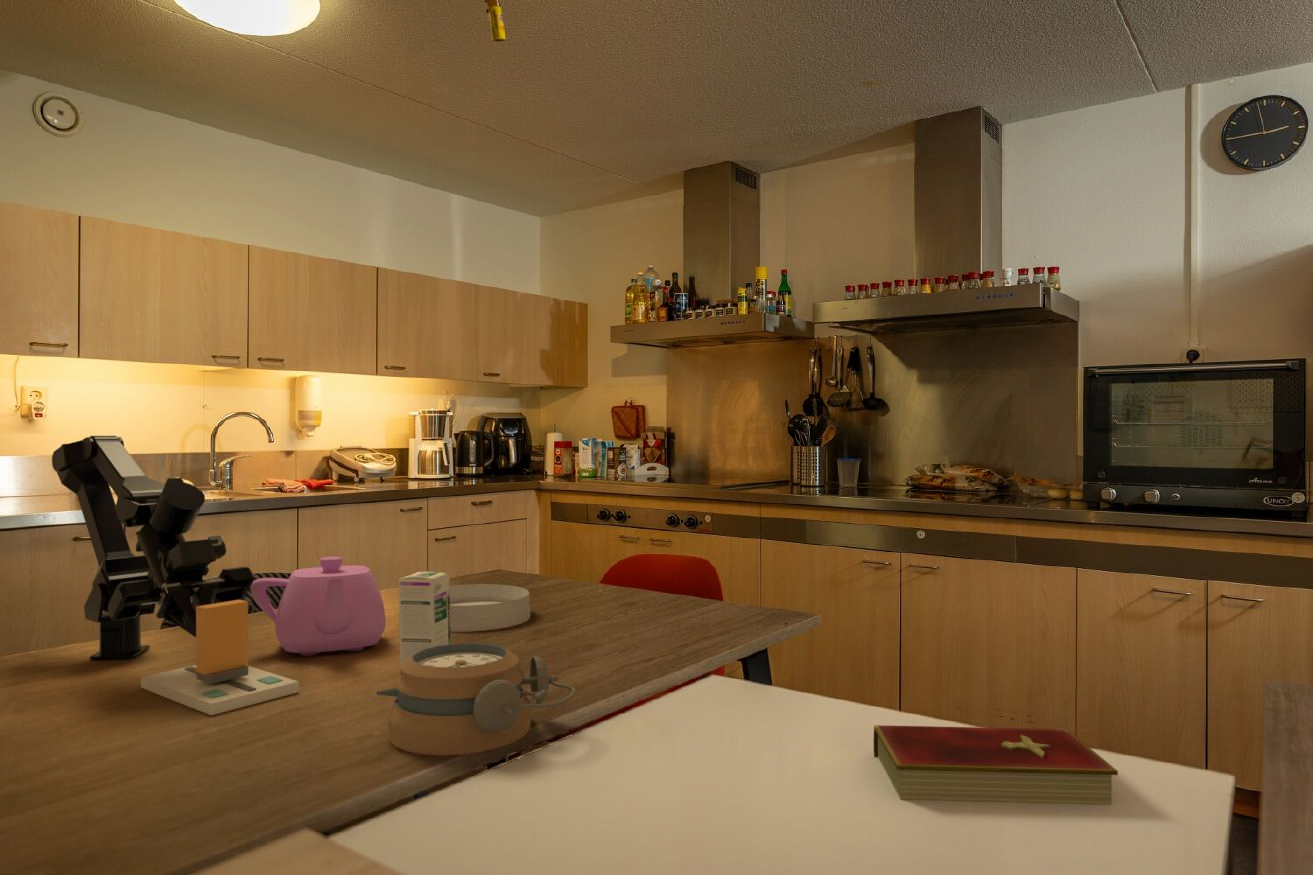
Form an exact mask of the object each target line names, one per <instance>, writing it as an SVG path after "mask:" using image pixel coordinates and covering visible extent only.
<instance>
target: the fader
mask: <svg viewBox="0 0 1313 875" xmlns="http://www.w3.org/2000/svg"><path fill="white" fill-rule="evenodd" d="M195 638H196V639H195V644H196V645H195V648H196V649H195V650H196V652H195V653H196V654H195V665H196V672H197V679H198V680H201V681H204V682H207V683H210V684H212V683H217V682H221V681H225V680H229V679H234V678H238V677H242V676H246V675H248V666H249V601H247V600H243V599H242V600H234V601H227V602H221V603H219V602H216V603H211V604H209V605H203V606H196V637H195ZM246 665H247V666H246Z"/></svg>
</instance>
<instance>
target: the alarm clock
mask: <svg viewBox="0 0 1313 875" xmlns="http://www.w3.org/2000/svg"><path fill="white" fill-rule="evenodd" d="M529 666H530V667H529V668H530V670H529V677H525V675H524V672H523V671H522V669H521V667H520V657H518V656H517V654H515V653H514V652H511V651H510V650H508V649H507V648H504V647H502V646H500V645H497V644H496V645H495V644H489V643H483V642H482V643H479V642H467V643H466V642H462V643H461V642H459V643H450V644H447V645H441V646H435V647H431V648H427V649H424V650H421V651H419V652H417V653H416V654H414V655H412V656H411V657H409V658H408V659H406V660H405V661H403V662H402V664H401V665H400V664H399V675H398V677H397V678H396V680H395V682H394V687H391V688H385V689H382V690H377V691H376V695H377V696H386V697H387V696H388V697H395V699H394V702H393V704H392V706H391V708H390V709H389V710H388V713H387V717H386V718H387V721H386V722H387V723H386V724H387V738H388V742H389V743H390V744H392V745H393V747H394V748H397V749H399V750H403V751H405V752H409V753H413V754H418V755H419V754H420V755H424V756H425V755H427V756H441V757H442V756H461V755H462V756H463V755H469V754H476V753H477V754H478V753H483V752H487V751H492V750H495V749H500V748H502V747H505V746H508V745H510V744H513V743H515V742H517V741H519V740H520V739H522V738H523V737H525V736H526V735H527V734H528V732H529V731H530V730H531V723H532V722H531V720H532V716H531V715H532V708H534V709H536V708H537V709H539V708H541V709H544V708H553V707H558V706H561V705H562V704H565V703H567V702H569V701H570V700H571V699H573V697H574V696H575V694H576V692H577V691H576V688H575V687H574V686H571V685H569V684H563V683H558V681H559V680H560V677H559V675H549V671H548V667H547V664H546V663H545V661H544V659H543V658H542V657H540V656H537V655H535V656H532V657H531V658H530V665H529ZM522 685H530V691H527V690H526V691H525V690H524V689H523V687H522ZM550 685H552V686H554V687H557V688H562V689H567V690H569V691H571V693H570V694H568V695H567V696H566V697H565V698H563V699H560V700H559V701H555V702H551V703H549V702H548V703H544V701H545V700H546V699H547V696H548V692H549V687H550ZM527 696H528V697H530V696H531V698H532V702H533V703H531V701H530V699H529V698H528V697H527Z"/></svg>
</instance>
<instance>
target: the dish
mask: <svg viewBox="0 0 1313 875" xmlns="http://www.w3.org/2000/svg"><path fill="white" fill-rule="evenodd" d="M449 591H450V632H457V633H458V632H459V633H460V632H462V633H465V632H481V631H492V630H499V629H504V628H510V627H515V626H517V625H520V624H523V623H525V622H527V621H528V620H530V618H531V605H530V591H529V590H528V589H527V588H524V587H520V586H515V585H509V584H508V585H507V584H494V583H476V584H474V583H472V584H471V583H470V584H459V585H458V584H457V585H449Z"/></svg>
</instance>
